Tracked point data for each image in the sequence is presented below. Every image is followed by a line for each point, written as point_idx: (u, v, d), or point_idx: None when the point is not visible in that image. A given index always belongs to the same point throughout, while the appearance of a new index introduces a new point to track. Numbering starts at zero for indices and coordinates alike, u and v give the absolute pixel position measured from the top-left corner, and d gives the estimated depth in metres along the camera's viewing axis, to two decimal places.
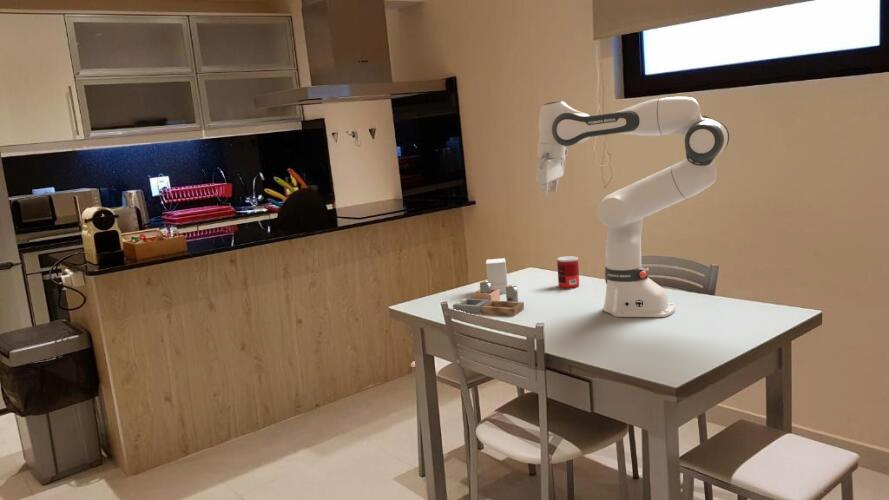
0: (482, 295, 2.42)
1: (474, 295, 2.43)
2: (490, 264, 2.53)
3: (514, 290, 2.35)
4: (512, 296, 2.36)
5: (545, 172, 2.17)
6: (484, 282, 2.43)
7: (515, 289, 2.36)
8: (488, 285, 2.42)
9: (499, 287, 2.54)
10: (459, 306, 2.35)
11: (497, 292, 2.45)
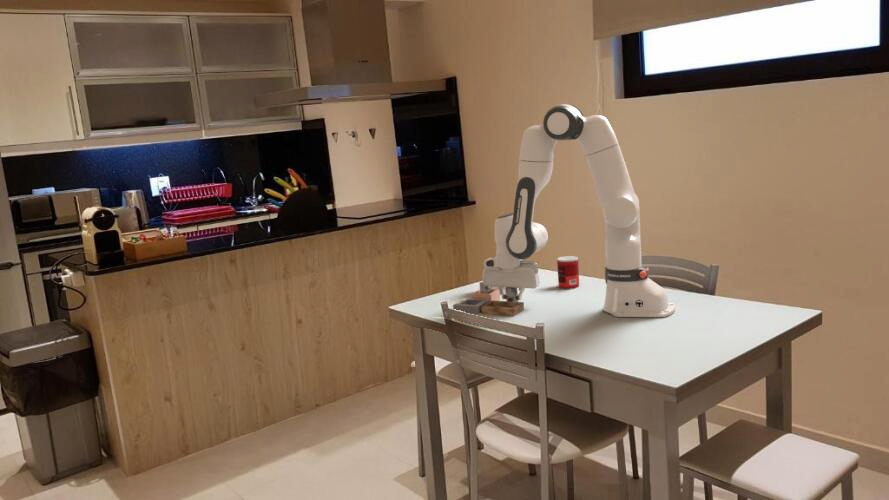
0: (482, 295, 2.42)
1: (474, 295, 2.43)
2: None
3: (514, 290, 2.35)
4: (512, 296, 2.36)
5: (538, 276, 2.33)
6: None
7: (515, 289, 2.36)
8: None
9: None
10: (459, 306, 2.35)
11: (497, 292, 2.45)
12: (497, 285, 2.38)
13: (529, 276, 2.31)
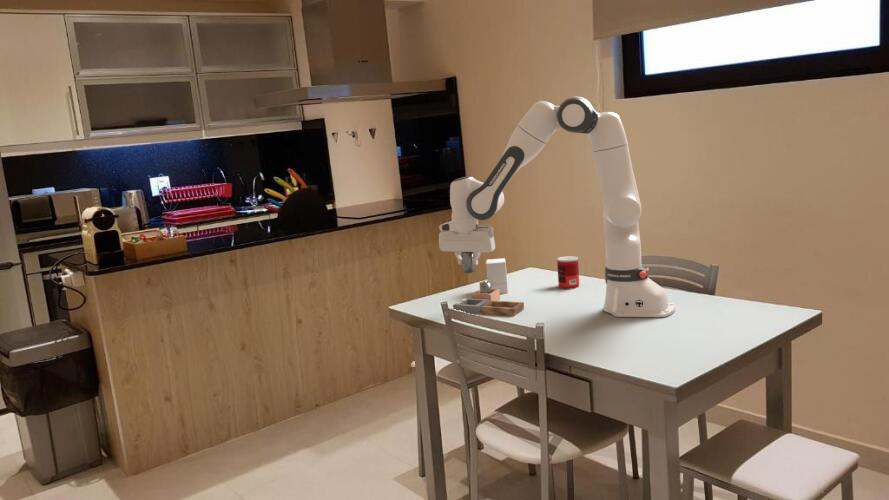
0: (482, 295, 2.42)
1: (474, 295, 2.43)
2: (490, 264, 2.53)
3: (470, 254, 2.32)
4: (468, 260, 2.33)
5: None
6: (484, 282, 2.43)
7: (471, 253, 2.33)
8: (487, 285, 2.42)
9: (499, 287, 2.54)
10: (459, 306, 2.35)
11: (497, 292, 2.45)
12: (453, 250, 2.35)
13: (484, 240, 2.28)
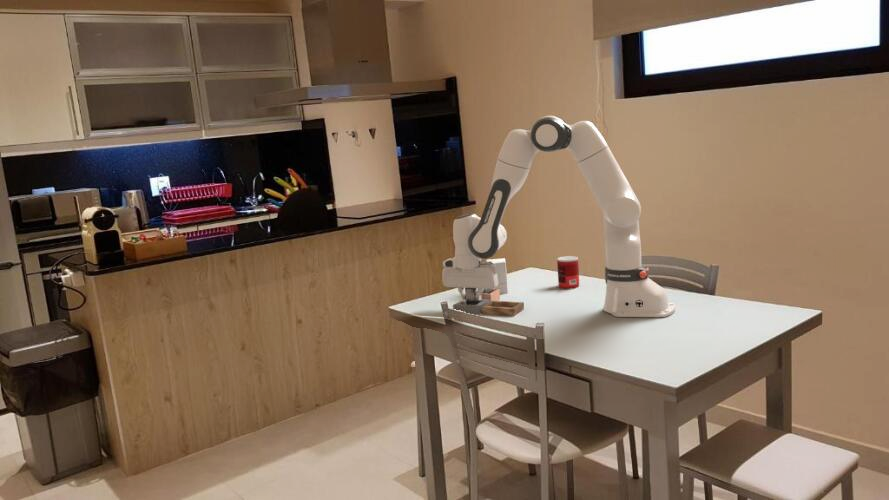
0: (482, 295, 2.42)
1: None
2: None
3: (473, 290, 2.35)
4: (471, 296, 2.35)
5: None
6: None
7: (474, 289, 2.35)
8: None
9: (499, 287, 2.54)
10: (459, 306, 2.35)
11: (497, 292, 2.45)
12: (456, 285, 2.37)
13: (487, 276, 2.30)
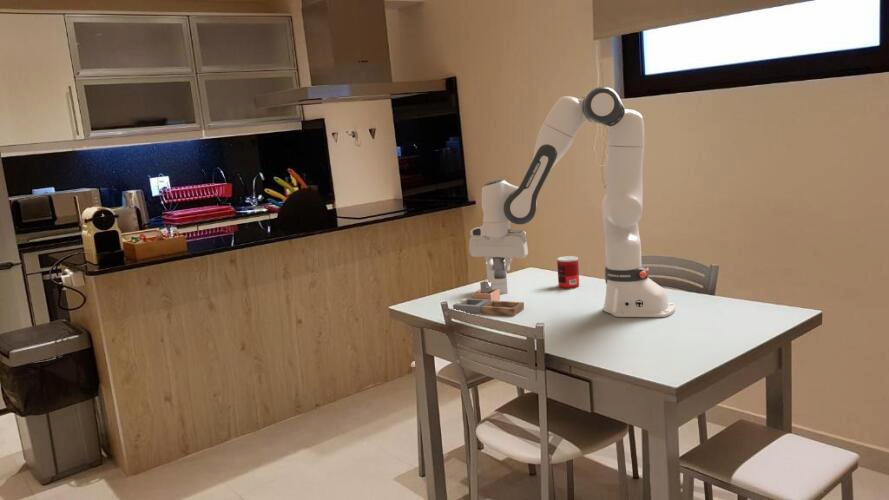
0: (482, 295, 2.42)
1: (474, 295, 2.43)
2: None
3: (501, 260, 2.26)
4: (499, 266, 2.26)
5: None
6: (484, 282, 2.43)
7: (503, 259, 2.27)
8: (487, 285, 2.42)
9: (499, 287, 2.54)
10: (459, 306, 2.35)
11: (497, 292, 2.45)
12: (484, 255, 2.28)
13: (517, 245, 2.22)
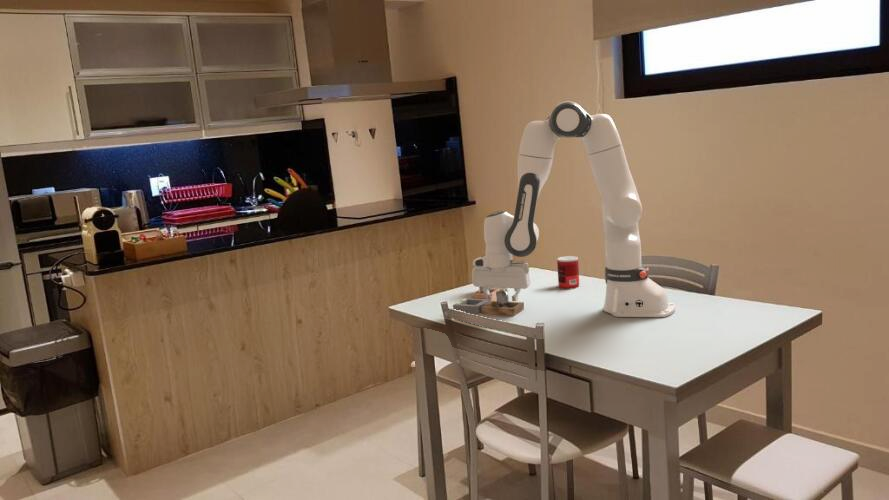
0: (482, 295, 2.42)
1: (474, 295, 2.43)
2: None
3: (505, 295, 2.28)
4: (502, 301, 2.29)
5: (529, 276, 2.25)
6: None
7: (506, 293, 2.29)
8: None
9: None
10: (459, 306, 2.35)
11: None
12: (487, 285, 2.30)
13: (519, 276, 2.24)
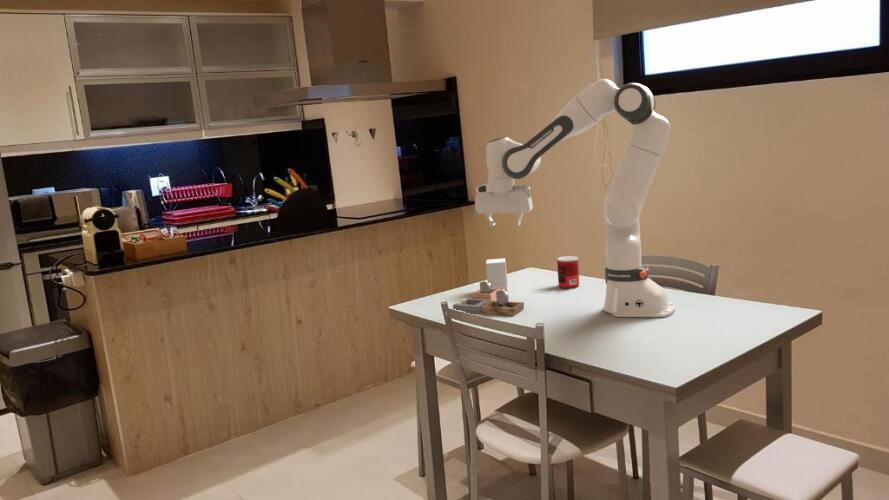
0: (482, 295, 2.42)
1: (474, 295, 2.43)
2: (490, 264, 2.53)
3: (505, 295, 2.28)
4: (502, 301, 2.29)
5: (531, 200, 2.30)
6: (483, 282, 2.43)
7: (506, 293, 2.29)
8: (485, 285, 2.42)
9: (499, 287, 2.54)
10: (459, 306, 2.35)
11: None
12: (490, 211, 2.35)
13: (522, 200, 2.29)
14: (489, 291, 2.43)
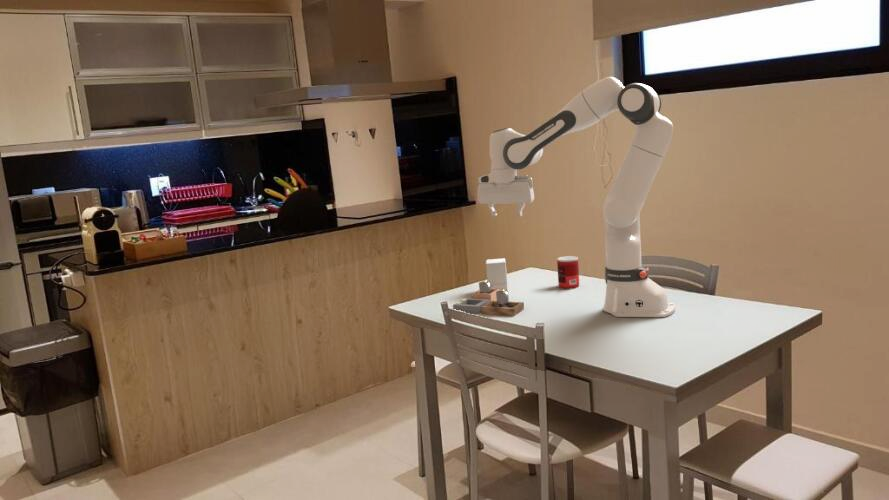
0: (482, 295, 2.42)
1: (474, 295, 2.43)
2: (490, 264, 2.53)
3: (505, 295, 2.28)
4: (502, 301, 2.29)
5: (533, 191, 2.33)
6: (482, 282, 2.43)
7: (506, 294, 2.29)
8: (484, 285, 2.42)
9: (499, 287, 2.54)
10: (459, 306, 2.35)
11: None
12: (492, 202, 2.37)
13: (524, 190, 2.31)
14: (488, 291, 2.43)
